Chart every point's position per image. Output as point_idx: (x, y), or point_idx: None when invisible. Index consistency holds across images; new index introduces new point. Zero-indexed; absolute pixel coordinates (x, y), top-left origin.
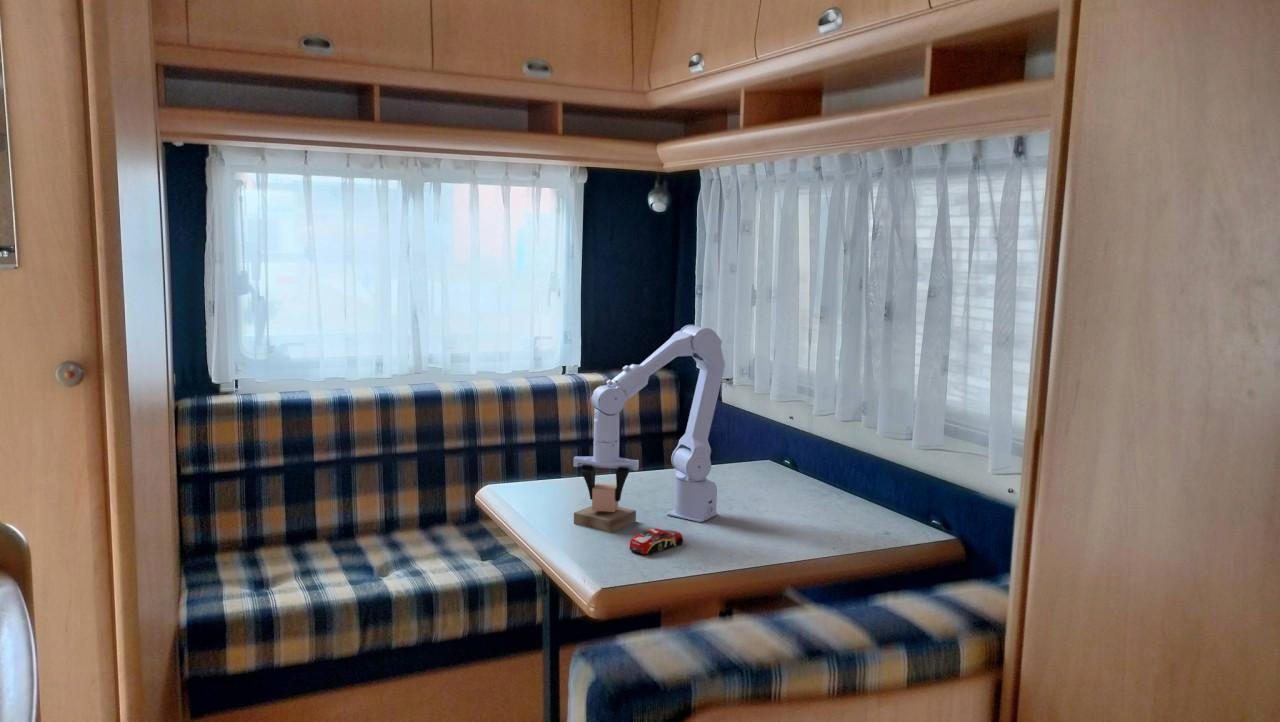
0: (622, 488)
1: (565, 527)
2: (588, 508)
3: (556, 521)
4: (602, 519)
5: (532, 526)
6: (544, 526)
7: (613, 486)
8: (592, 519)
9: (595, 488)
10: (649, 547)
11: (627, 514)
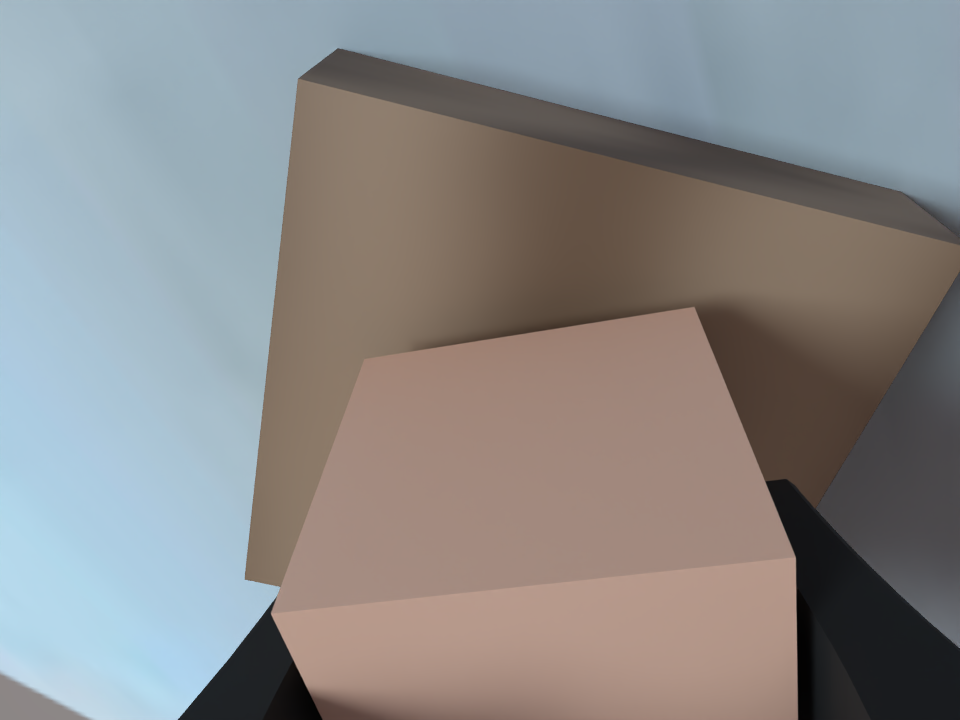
0: (896, 597)
1: (276, 592)
2: (298, 404)
3: (102, 494)
4: None
5: (39, 646)
6: (114, 621)
7: (716, 707)
8: None
9: None
10: None
11: (861, 422)
